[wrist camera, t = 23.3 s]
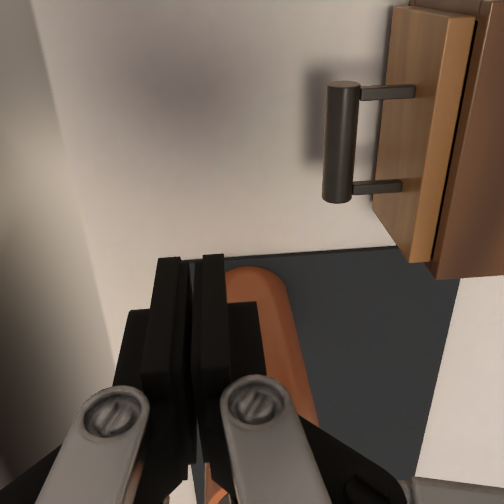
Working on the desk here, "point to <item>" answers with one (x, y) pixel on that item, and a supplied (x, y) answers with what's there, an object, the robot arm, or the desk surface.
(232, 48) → the desk surface
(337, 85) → the drawer
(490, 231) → the cabinet
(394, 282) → the desk mat
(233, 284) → the pen holder
